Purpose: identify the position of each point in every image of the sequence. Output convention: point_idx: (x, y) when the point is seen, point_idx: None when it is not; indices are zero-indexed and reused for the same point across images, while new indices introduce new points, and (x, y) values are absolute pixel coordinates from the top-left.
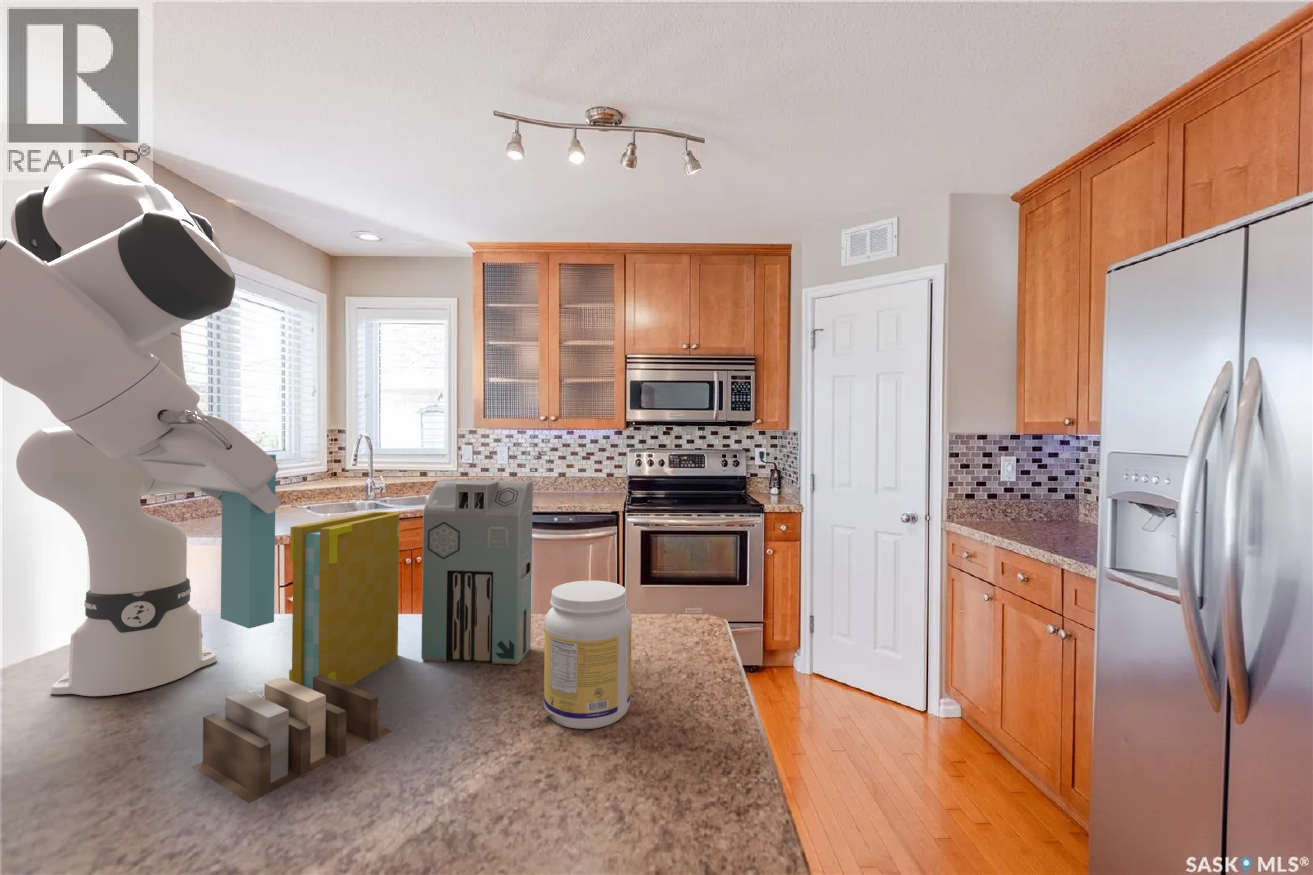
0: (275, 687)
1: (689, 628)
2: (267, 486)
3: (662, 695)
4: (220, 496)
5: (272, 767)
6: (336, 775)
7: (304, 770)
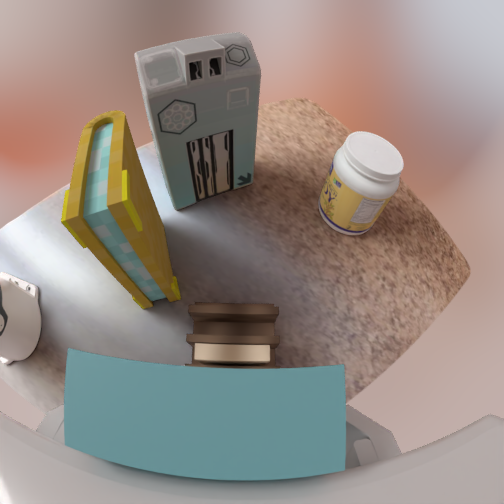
0: (212, 359)
1: (308, 111)
2: (367, 418)
3: None
4: None
5: None
6: (277, 352)
7: None
